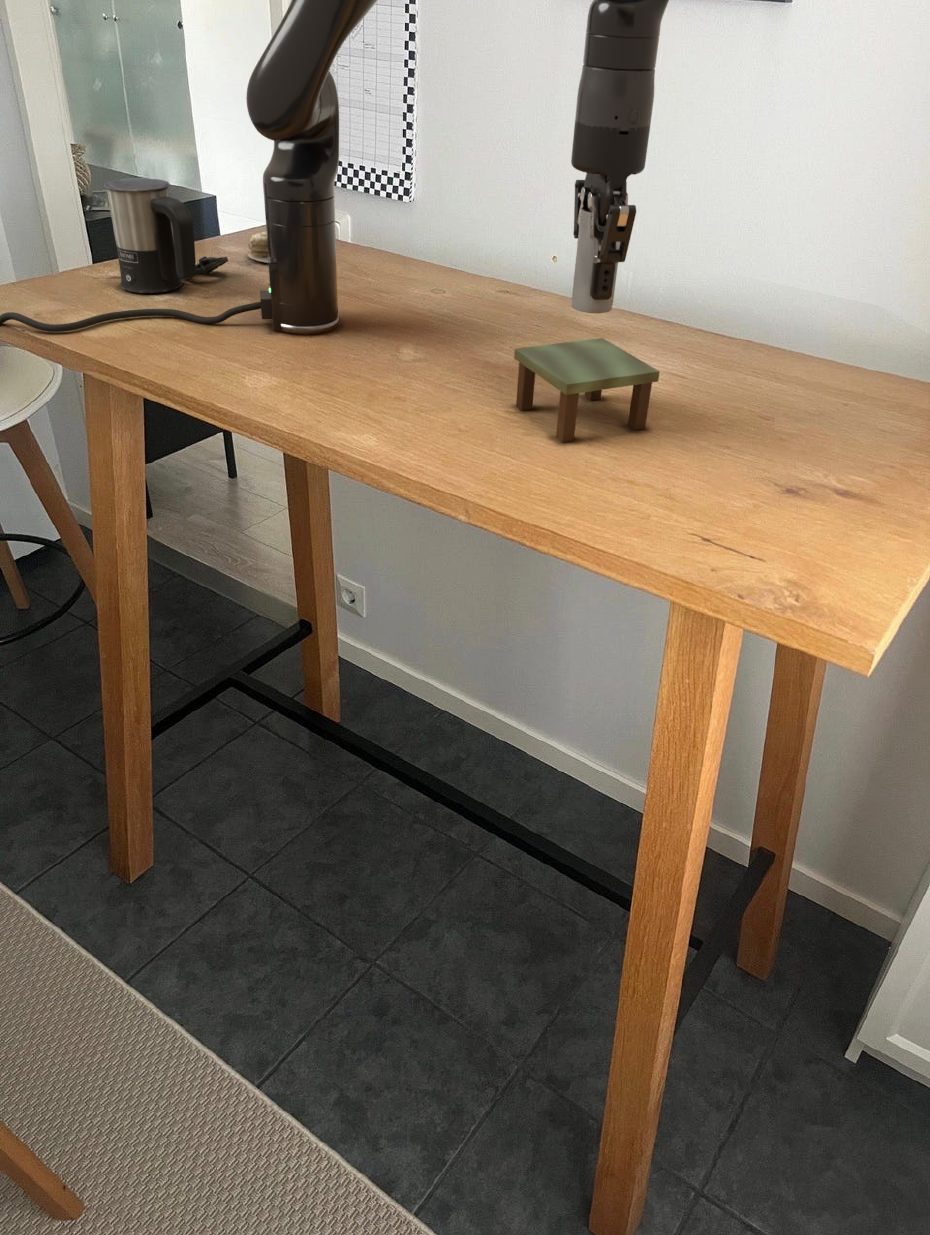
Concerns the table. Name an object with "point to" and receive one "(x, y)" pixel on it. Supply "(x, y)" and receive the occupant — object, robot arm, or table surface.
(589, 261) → the grey hollow tube
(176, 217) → the milk frother
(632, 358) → the plant stand
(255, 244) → the cake
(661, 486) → the table surface
